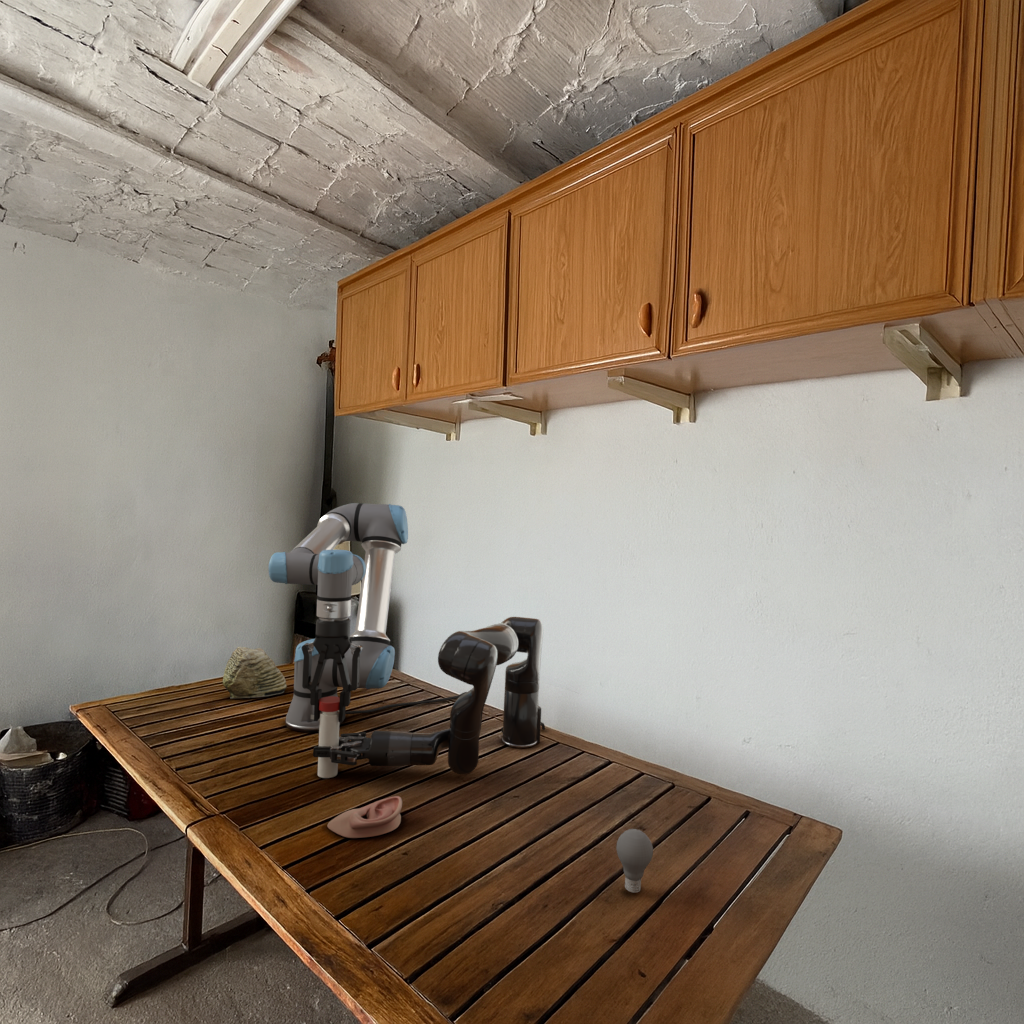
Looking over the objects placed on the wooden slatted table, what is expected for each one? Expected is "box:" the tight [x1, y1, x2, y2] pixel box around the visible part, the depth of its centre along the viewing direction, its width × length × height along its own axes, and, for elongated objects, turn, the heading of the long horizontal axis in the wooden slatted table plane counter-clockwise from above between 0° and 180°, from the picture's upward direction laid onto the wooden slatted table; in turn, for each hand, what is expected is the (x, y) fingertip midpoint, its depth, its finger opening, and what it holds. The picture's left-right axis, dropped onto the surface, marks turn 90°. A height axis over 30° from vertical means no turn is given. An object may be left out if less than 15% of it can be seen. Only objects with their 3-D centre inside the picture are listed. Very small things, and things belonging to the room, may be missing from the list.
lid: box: [319, 696, 340, 712], centre depth 144 cm, size 5×5×2 cm
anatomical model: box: [327, 795, 403, 839], centre depth 123 cm, size 13×4×12 cm
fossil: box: [222, 646, 288, 699], centre depth 198 cm, size 9×18×15 cm, turn 132°
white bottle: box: [317, 710, 341, 779], centre depth 145 cm, size 4×4×16 cm
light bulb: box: [615, 828, 654, 894], centre depth 106 cm, size 6×6×10 cm
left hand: (329, 719), depth 145 cm, fingers closed on lid, 5 cm apart
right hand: (316, 747), depth 144 cm, fingers closed on white bottle, 4 cm apart
